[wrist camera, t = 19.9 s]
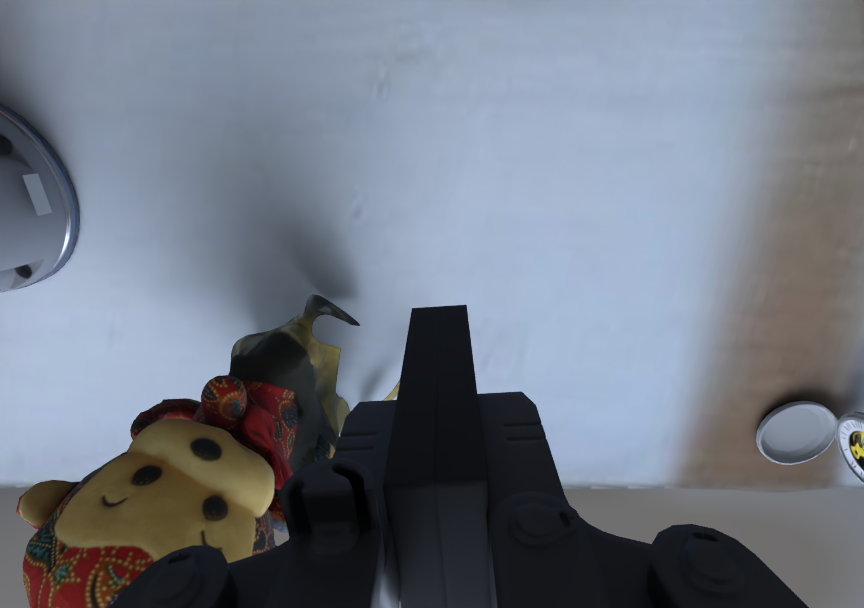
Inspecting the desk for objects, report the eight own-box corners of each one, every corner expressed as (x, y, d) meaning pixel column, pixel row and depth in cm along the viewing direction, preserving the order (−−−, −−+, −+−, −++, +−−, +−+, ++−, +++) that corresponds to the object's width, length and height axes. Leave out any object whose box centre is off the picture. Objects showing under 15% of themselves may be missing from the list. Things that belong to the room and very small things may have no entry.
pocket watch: (737, 428, 42) (820, 516, 33) (823, 371, 40) (938, 448, 30) (786, 478, 44) (877, 574, 35) (871, 426, 41) (993, 514, 32)
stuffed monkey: (415, 450, 42) (239, 827, 20) (257, 407, 46) (-38, 684, 24) (427, 302, 36) (189, 614, 14) (242, 267, 40) (-175, 467, 18)
